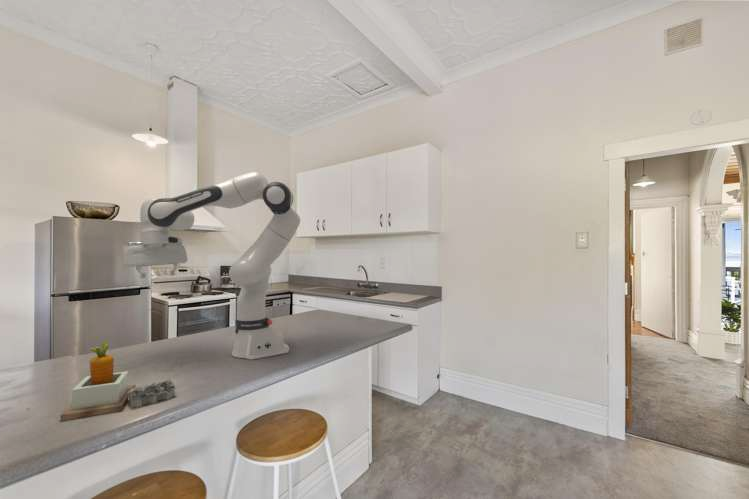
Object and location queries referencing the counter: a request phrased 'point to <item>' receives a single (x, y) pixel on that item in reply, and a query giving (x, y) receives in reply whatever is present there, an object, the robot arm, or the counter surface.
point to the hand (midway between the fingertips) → (158, 276)
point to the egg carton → (151, 393)
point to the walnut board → (96, 408)
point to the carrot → (101, 366)
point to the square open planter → (99, 391)
